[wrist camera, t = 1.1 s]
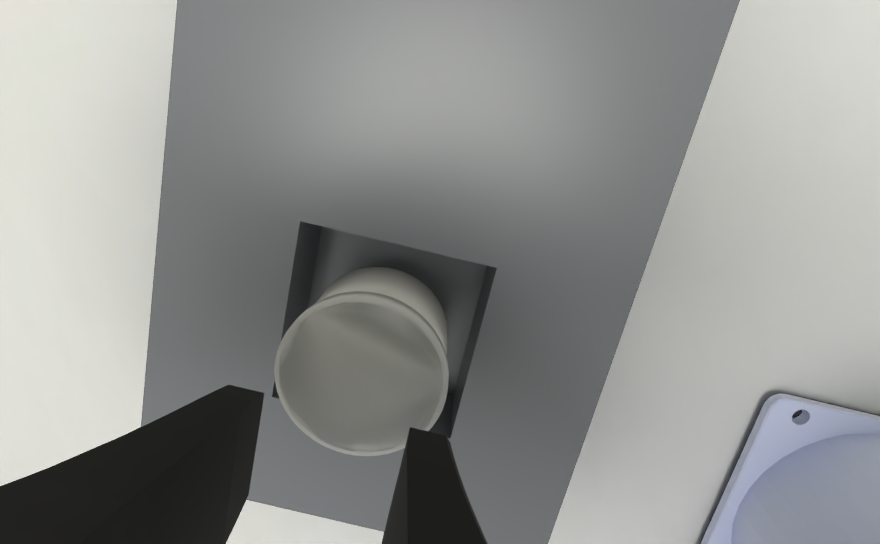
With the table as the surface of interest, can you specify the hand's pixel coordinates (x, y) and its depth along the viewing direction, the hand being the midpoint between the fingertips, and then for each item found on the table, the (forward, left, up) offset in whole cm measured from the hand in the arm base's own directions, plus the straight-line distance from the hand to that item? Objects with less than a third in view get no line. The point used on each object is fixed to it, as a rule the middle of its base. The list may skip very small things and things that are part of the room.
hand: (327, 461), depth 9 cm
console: (0, -6, -8) cm, 10 cm away
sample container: (0, 0, -6) cm, 6 cm away
